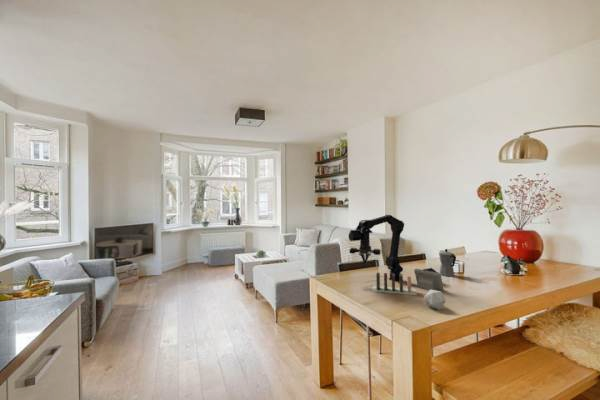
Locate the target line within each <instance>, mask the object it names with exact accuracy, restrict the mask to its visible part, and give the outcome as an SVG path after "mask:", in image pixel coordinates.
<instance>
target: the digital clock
mask: <svg viewBox="0 0 600 400" xmlns="http://www.w3.org/2000/svg"><path fill="white" fill-rule="evenodd" d="M439 273H440V272H438V273H435V272H430V271H425V270H423V269H419V268H415V269H414V275H415V279H416V283H417V288H419V289H423V290H426V291H429V290H430V289H431V290H436V291H444V290H445V289H444V283H443V279H442V275H440V274H439Z"/></svg>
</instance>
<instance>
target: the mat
mask: <svg viewBox="0 0 600 400" xmlns="http://www.w3.org/2000/svg"><path fill="white" fill-rule="evenodd" d="M371 292H377V293H378V292H379V293H390V294H403V295H411V296H413V295H416V296H417V292H416V289H415V288H411V293H408V287H406V288H404V287H403V292H400V287H395V291H392V286H387V291H384V286H382V285H380V290H377V285H373V286H372V290H371Z"/></svg>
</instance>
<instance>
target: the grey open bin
mask: <svg viewBox="0 0 600 400" xmlns="http://www.w3.org/2000/svg"><path fill="white" fill-rule="evenodd" d="M422 270H425V271H430V272H435V273H439V272H438V271H436V269H434V268H432V267H430V268H424V269H422Z"/></svg>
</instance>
